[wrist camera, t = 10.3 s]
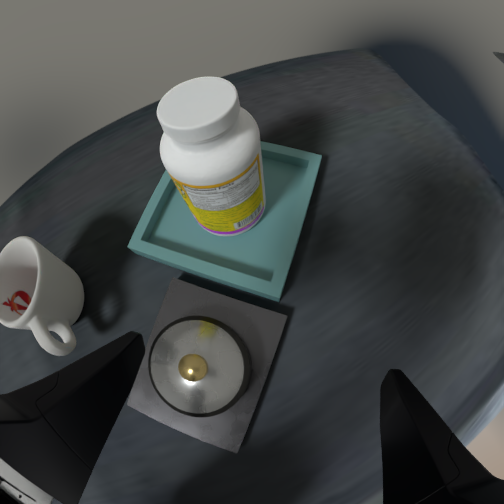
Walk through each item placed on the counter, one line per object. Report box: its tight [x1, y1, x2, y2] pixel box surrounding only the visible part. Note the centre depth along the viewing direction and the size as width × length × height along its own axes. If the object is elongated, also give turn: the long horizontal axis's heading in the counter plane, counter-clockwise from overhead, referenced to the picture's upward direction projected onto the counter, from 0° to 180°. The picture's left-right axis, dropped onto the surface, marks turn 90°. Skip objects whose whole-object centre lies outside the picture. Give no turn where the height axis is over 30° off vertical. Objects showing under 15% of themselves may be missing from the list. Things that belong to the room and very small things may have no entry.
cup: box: [0, 236, 84, 356], centre depth 21 cm, size 11×8×8 cm
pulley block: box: [127, 278, 287, 453], centre depth 21 cm, size 12×10×4 cm
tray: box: [128, 141, 322, 302], centre depth 26 cm, size 14×14×2 cm
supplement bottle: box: [157, 77, 266, 236], centre depth 20 cm, size 7×7×13 cm
